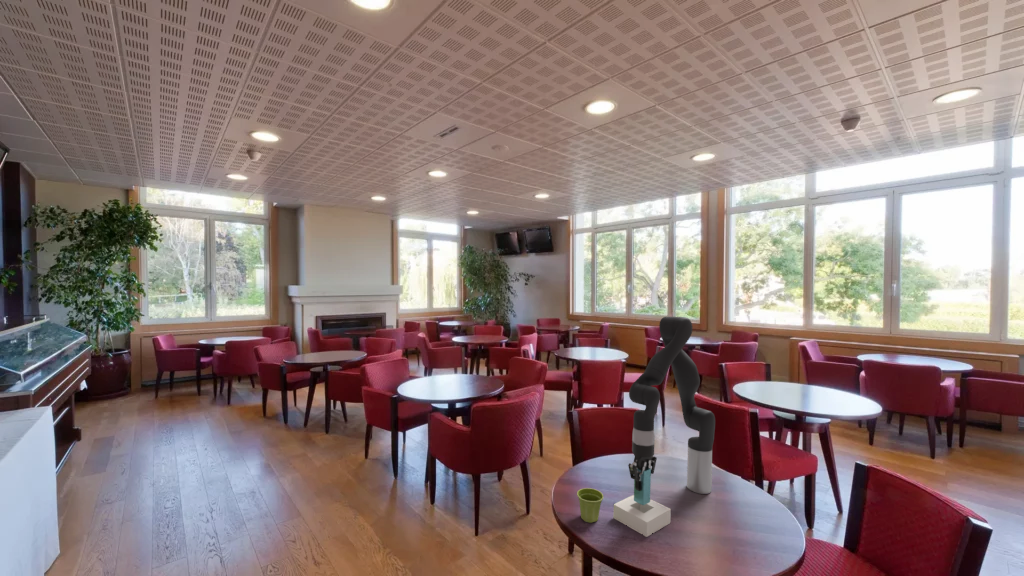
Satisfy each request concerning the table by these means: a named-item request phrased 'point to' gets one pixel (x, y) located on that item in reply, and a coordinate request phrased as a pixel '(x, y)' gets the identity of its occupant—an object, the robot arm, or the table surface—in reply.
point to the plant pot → (589, 504)
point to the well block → (642, 515)
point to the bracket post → (643, 488)
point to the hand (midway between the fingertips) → (642, 488)
